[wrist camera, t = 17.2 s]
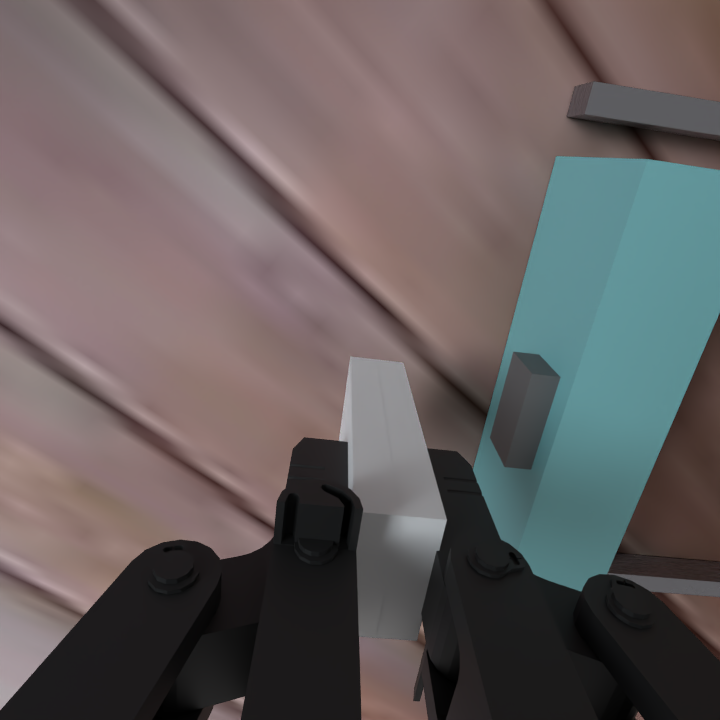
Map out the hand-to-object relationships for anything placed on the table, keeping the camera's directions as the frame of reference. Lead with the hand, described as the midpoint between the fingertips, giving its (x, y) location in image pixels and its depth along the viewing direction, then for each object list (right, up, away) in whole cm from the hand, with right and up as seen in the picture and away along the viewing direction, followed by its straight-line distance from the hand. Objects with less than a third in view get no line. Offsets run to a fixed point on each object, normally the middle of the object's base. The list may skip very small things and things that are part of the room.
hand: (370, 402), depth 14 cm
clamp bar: (+6, +1, +4) cm, 7 cm away
